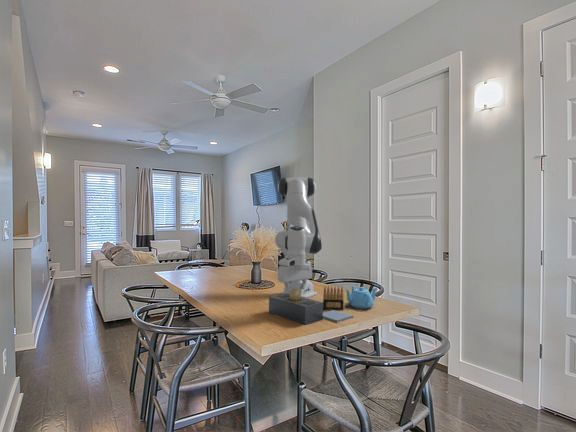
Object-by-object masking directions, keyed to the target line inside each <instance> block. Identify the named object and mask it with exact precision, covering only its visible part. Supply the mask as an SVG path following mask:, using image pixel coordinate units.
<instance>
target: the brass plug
mask: <svg viewBox="0 0 576 432" xmlns="http://www.w3.org/2000/svg"><path fill="white" fill-rule="evenodd" d="M289 300H292V301H300V300H301V290H299V289H291V291H290V292H289Z"/></svg>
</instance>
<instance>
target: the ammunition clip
mask: <svg viewBox="0 0 576 432" xmlns="http://www.w3.org/2000/svg"><path fill="white" fill-rule="evenodd" d="M322 295H323V297H322V302H323V311H325V310H326V311H331V310H335V311H344V310H345V309H344V287H343V286H341V288H340V286H337V287H336V286H334V287H333V286H329V285H328V286H327V288H326V286H324V287H323V294H322Z"/></svg>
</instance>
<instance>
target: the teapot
mask: <svg viewBox="0 0 576 432" xmlns="http://www.w3.org/2000/svg"><path fill="white" fill-rule="evenodd" d="M350 286H351V291H350V290H349V289H348V288H344V290H345V291H346V301H348V304H349V305H350V306H351V308H355V309H360V310H361V309H362V310H363V309H365V310H366V309H367V308H368V309H371V308H372V307H373V306H374V301H375V298H376V290H377V289H378V287H373V289H372V292H370V291H369V290H368V289H364V287H363V286H359V287H358V288H356V287H355V286H354V285H353V284H350Z"/></svg>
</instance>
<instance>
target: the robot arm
mask: <svg viewBox="0 0 576 432" xmlns="http://www.w3.org/2000/svg"><path fill="white" fill-rule="evenodd" d="M316 189H317V186H316V181H315V179H314V178H311V177H302V176H301V177H300V176H296V177H282V178H280V179H279V180H278V183H277V191H278V193H279V195H281V196H284V197H286V200H285V201H286V221H287V222H288V223H289V224H290V225H291V226H290V227H289V228H288V230H283V231H278V232H277V233H276V234H275V236H274V243H275V245H276V247H277V248H278V249H280V251H281V252H282V254H283V256H284V258H281V259H280V260H278V265H279V266H278V269H277V280H278V282H280V283H283V284H284V287H283V291H282V294H285V293H288V294H289V292H290V291H291V289H299V290H301V297H304V298H308V299H309V298H310V297H311V298H312V297H313V296H317V295H318V292H317V291H314V284H313V283H312V282H311V281H310V279H312V278H313V267H312V262H311V261H310V259H306V256H307V254H312V255H313V254H314V255H316V254H318V253H319V252H320V251H321V250H322V247H323V240H322V237H321V234H320V230H319V227H318V226H319V225H318V222H317V217H316V213H315V208H314V207H313V206H312V205H311V204H310V203H309V202H308V199H309V197H312V196H313V195H314V194H315V191H316ZM307 222H308V224H307Z"/></svg>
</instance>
